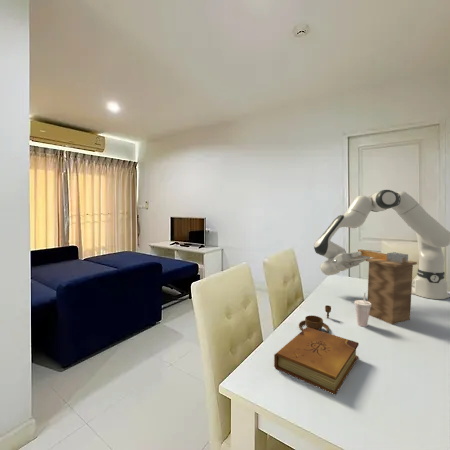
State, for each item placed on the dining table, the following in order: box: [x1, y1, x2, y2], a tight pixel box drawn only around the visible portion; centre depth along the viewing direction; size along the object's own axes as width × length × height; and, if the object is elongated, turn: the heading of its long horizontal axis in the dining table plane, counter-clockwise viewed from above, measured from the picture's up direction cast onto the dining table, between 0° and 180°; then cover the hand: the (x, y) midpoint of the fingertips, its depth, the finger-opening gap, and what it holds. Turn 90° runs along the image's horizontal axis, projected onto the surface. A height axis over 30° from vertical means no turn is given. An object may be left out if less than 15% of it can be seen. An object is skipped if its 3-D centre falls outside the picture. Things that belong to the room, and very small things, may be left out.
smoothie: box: [354, 291, 371, 328], centre depth 112 cm, size 6×6×14 cm
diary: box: [273, 326, 359, 395], centre depth 86 cm, size 23×19×6 cm
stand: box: [365, 257, 418, 326], centre depth 119 cm, size 14×14×26 cm
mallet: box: [357, 249, 409, 264], centre depth 123 cm, size 22×5×4 cm, turn 24°
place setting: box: [298, 305, 332, 334], centre depth 110 cm, size 18×20×6 cm
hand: (364, 252), depth 130 cm, fingers closed on mallet, 2 cm apart
